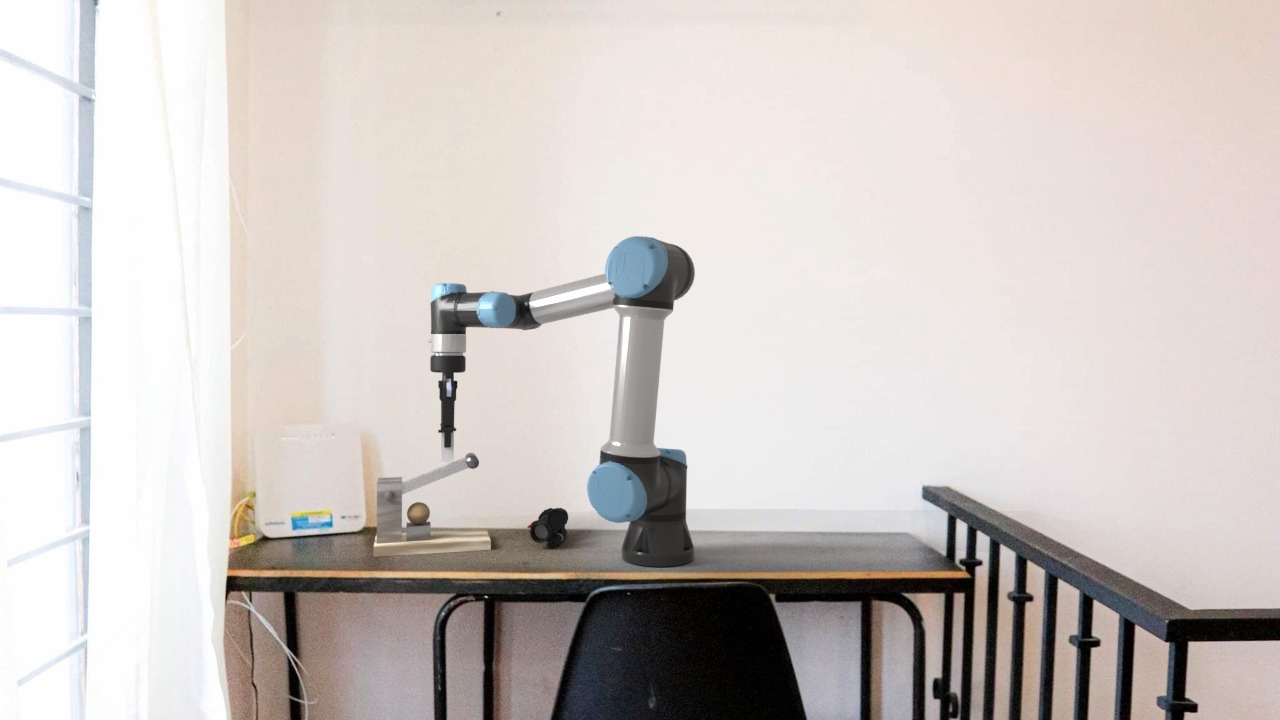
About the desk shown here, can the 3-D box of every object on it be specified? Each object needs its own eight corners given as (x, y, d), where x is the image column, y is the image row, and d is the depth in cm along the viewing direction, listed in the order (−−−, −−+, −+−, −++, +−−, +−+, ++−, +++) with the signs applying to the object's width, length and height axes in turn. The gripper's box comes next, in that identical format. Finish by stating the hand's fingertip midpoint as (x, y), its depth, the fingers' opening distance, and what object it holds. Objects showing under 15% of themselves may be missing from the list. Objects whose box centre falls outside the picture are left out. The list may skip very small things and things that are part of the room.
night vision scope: (558, 542, 190) (590, 517, 188) (535, 563, 172) (570, 536, 171) (538, 516, 191) (569, 490, 189) (513, 534, 173) (547, 506, 172)
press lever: (480, 466, 174) (476, 455, 174) (386, 503, 169) (382, 492, 169) (478, 461, 181) (474, 451, 181) (387, 497, 176) (383, 486, 175)
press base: (490, 549, 173) (491, 480, 172) (373, 556, 166) (373, 484, 166) (485, 537, 184) (486, 472, 184) (375, 543, 178) (376, 475, 177)
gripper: (429, 353, 181) (428, 458, 181) (431, 354, 168) (429, 466, 169) (463, 354, 183) (462, 457, 183) (467, 355, 170) (466, 465, 171)
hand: (447, 461), depth 176 cm, fingers closed
